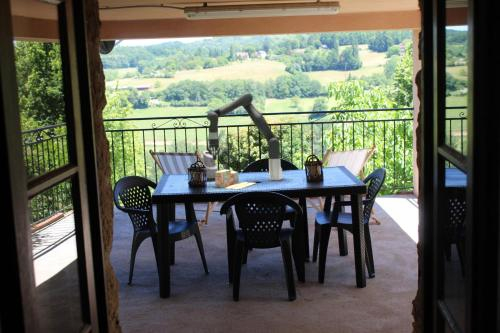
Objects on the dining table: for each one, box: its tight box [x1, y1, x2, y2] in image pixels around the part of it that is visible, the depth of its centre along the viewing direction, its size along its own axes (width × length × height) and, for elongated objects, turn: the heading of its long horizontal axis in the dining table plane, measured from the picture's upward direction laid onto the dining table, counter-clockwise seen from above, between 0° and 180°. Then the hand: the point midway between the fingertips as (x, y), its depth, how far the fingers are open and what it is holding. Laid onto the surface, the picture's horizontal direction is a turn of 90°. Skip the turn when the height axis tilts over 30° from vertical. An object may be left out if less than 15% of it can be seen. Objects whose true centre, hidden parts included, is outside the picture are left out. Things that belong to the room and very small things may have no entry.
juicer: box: [189, 149, 219, 183], centre depth 567 cm, size 30×16×24 cm, turn 49°
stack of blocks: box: [214, 169, 240, 189], centre depth 536 cm, size 21×6×12 cm, turn 143°
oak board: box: [223, 181, 257, 190], centre depth 530 cm, size 14×26×1 cm, turn 151°
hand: (214, 160), depth 538 cm, fingers closed
